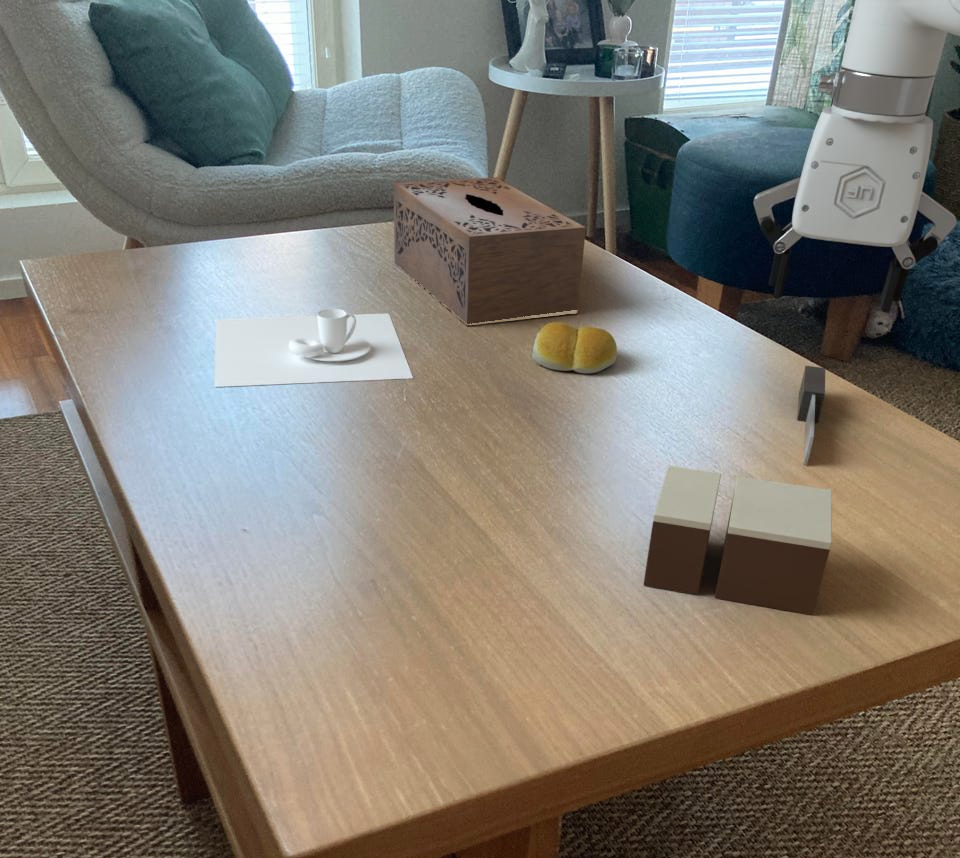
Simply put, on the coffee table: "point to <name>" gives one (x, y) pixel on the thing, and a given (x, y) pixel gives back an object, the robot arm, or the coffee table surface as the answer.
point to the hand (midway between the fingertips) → (830, 301)
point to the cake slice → (681, 530)
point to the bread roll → (574, 348)
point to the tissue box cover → (487, 248)
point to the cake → (776, 545)
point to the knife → (811, 403)
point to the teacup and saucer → (307, 349)
